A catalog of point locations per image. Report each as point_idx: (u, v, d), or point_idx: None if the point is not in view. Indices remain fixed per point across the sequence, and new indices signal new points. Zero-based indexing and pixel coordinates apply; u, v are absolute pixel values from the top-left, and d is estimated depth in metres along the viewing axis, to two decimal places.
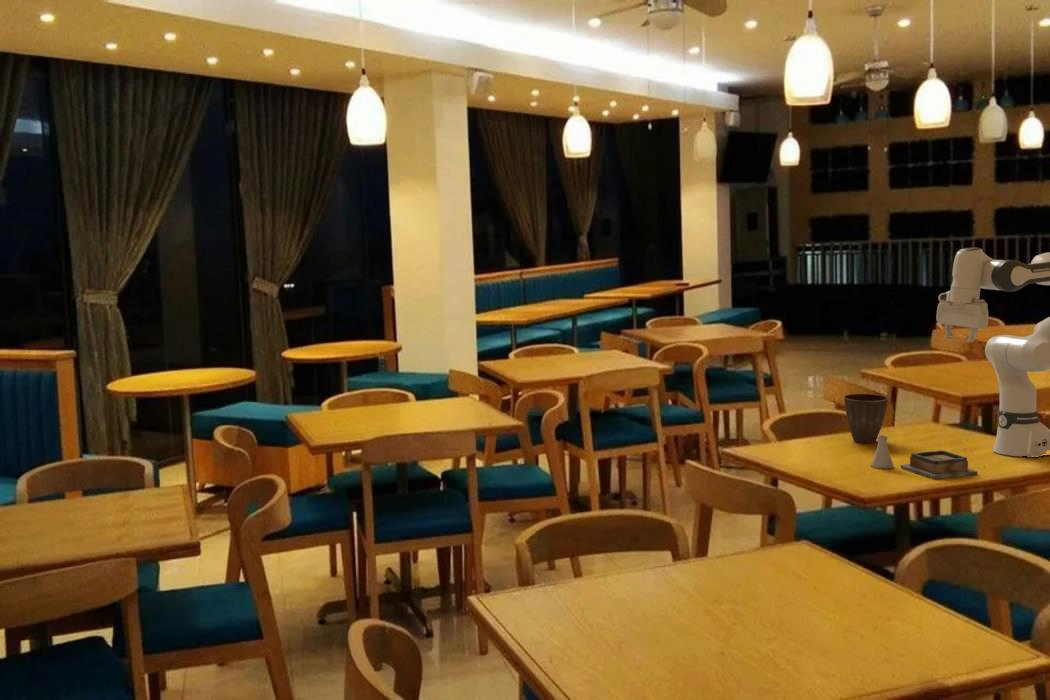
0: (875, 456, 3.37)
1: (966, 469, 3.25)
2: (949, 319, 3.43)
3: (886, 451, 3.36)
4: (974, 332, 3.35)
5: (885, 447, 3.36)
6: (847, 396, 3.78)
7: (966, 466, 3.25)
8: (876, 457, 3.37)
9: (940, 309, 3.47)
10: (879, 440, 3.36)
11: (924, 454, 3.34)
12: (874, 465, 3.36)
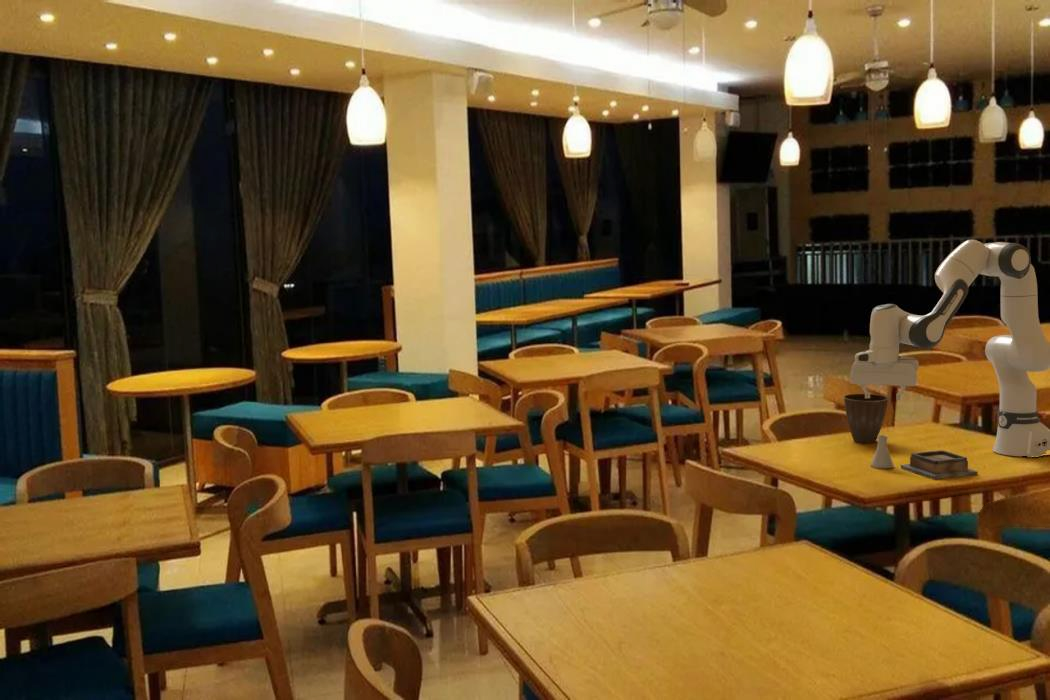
0: (875, 456, 3.37)
1: (966, 469, 3.25)
2: (871, 379, 3.34)
3: (886, 451, 3.36)
4: (904, 389, 3.32)
5: (885, 447, 3.36)
6: (847, 396, 3.78)
7: (966, 466, 3.25)
8: (876, 457, 3.37)
9: (856, 369, 3.35)
10: (879, 440, 3.36)
11: (924, 454, 3.34)
12: (874, 465, 3.36)
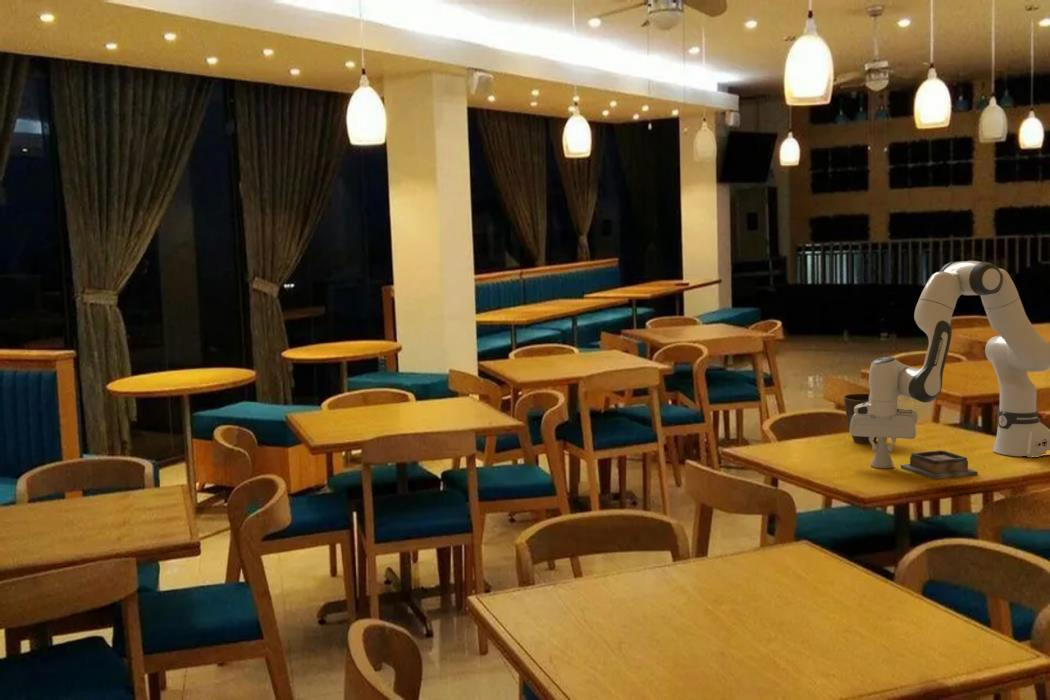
0: (875, 456, 3.37)
1: (966, 469, 3.25)
2: (870, 431, 3.36)
3: (886, 451, 3.36)
4: (895, 441, 3.35)
5: (885, 447, 3.36)
6: (847, 396, 3.78)
7: (966, 466, 3.25)
8: (876, 457, 3.37)
9: (855, 422, 3.37)
10: (879, 440, 3.36)
11: (924, 454, 3.34)
12: (874, 465, 3.36)
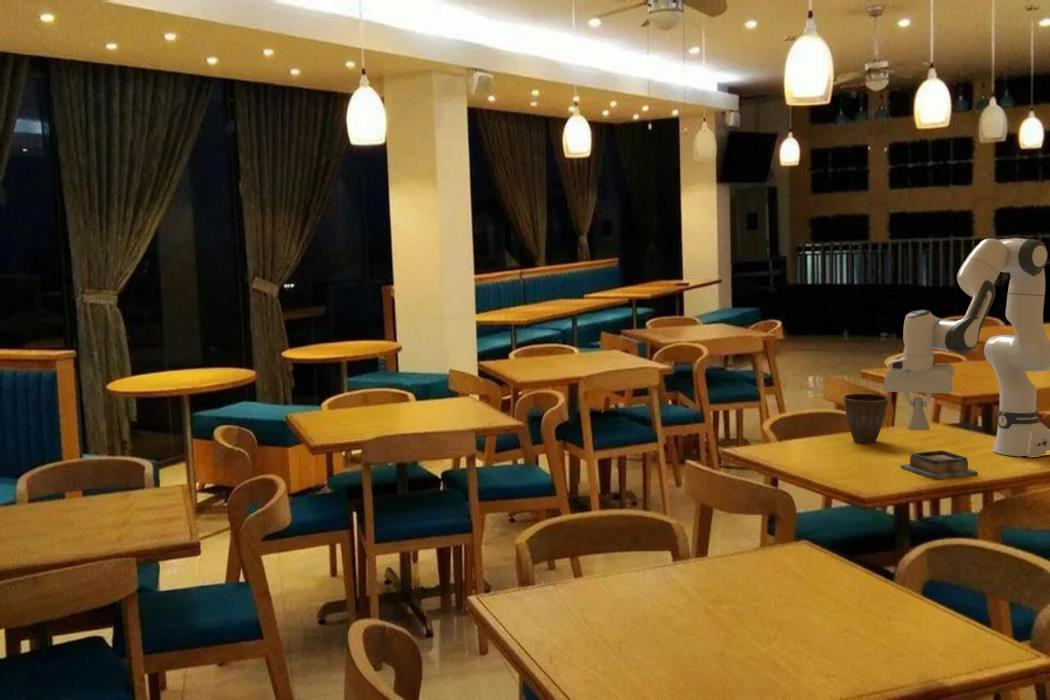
0: (911, 418, 3.31)
1: (966, 469, 3.25)
2: (906, 386, 3.30)
3: (922, 413, 3.30)
4: (930, 396, 3.29)
5: (921, 409, 3.30)
6: (847, 396, 3.78)
7: (966, 466, 3.25)
8: (912, 419, 3.31)
9: (890, 377, 3.31)
10: (915, 402, 3.30)
11: (924, 454, 3.34)
12: (910, 427, 3.30)
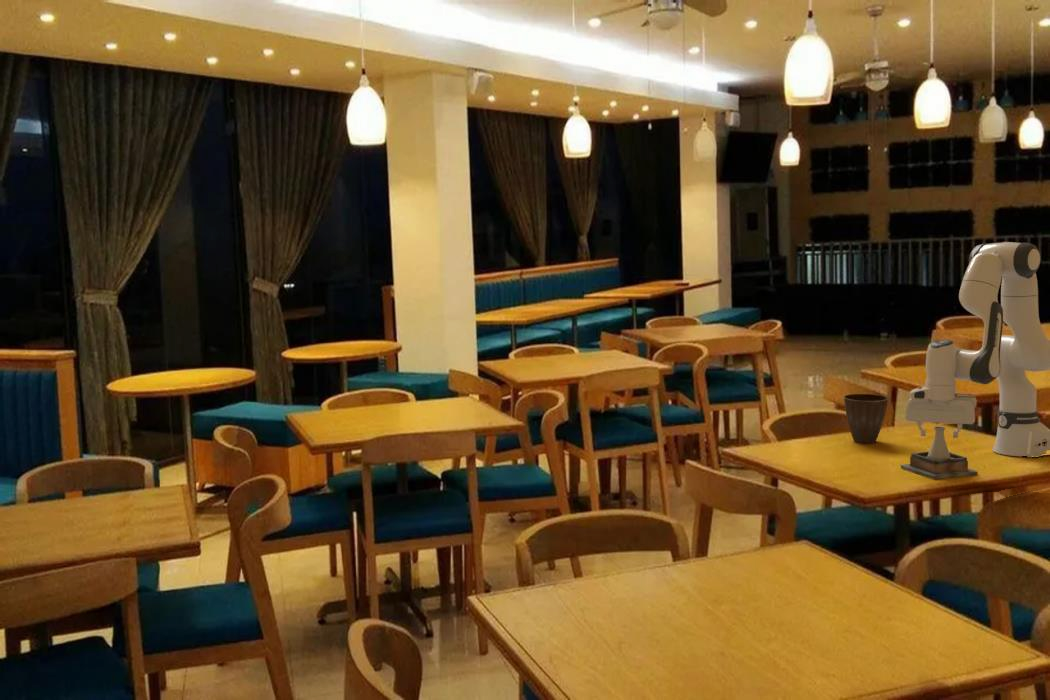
0: (932, 448, 3.29)
1: (966, 469, 3.25)
2: (927, 416, 3.27)
3: (943, 443, 3.27)
4: (961, 427, 3.26)
5: (942, 438, 3.27)
6: (847, 396, 3.78)
7: (966, 466, 3.25)
8: (933, 449, 3.28)
9: (911, 407, 3.29)
10: (936, 431, 3.28)
11: (924, 454, 3.34)
12: (931, 457, 3.28)
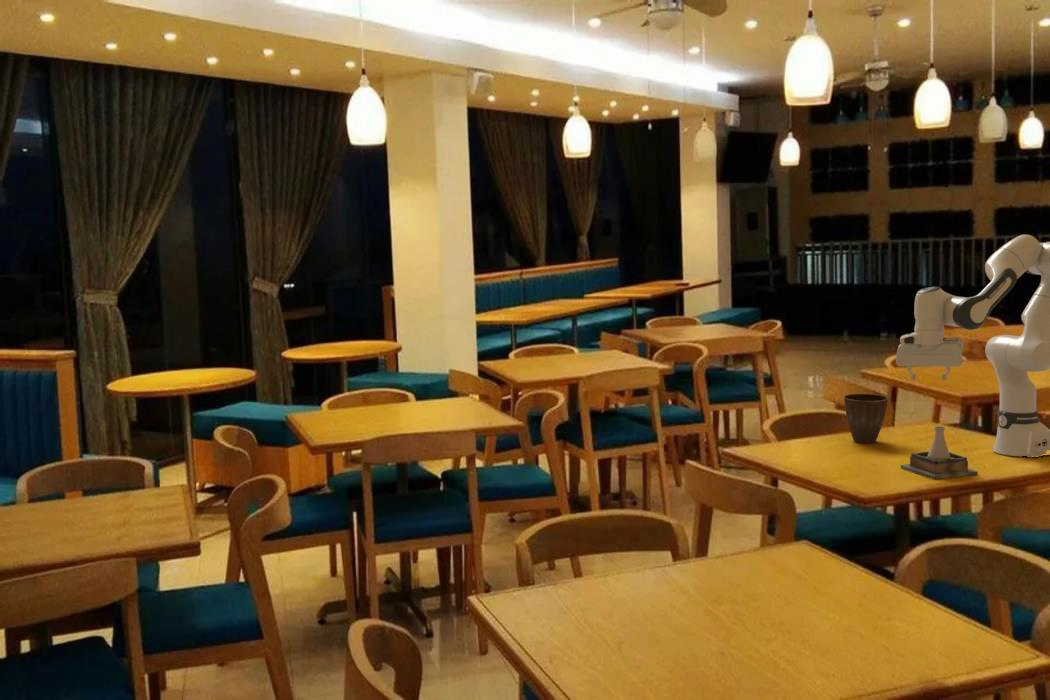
0: (932, 448, 3.29)
1: (966, 469, 3.25)
2: (917, 360, 3.41)
3: (943, 443, 3.27)
4: (949, 370, 3.40)
5: (942, 438, 3.27)
6: (847, 396, 3.78)
7: (966, 466, 3.25)
8: (933, 449, 3.28)
9: (902, 352, 3.42)
10: (936, 431, 3.28)
11: (924, 454, 3.34)
12: (931, 457, 3.28)
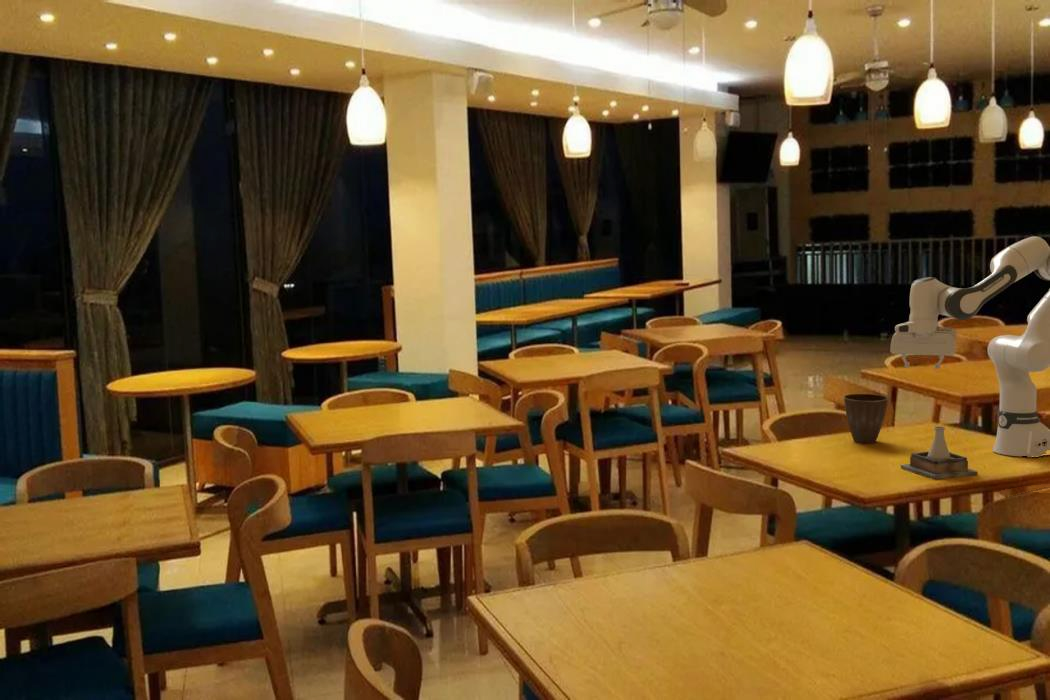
0: (932, 448, 3.29)
1: (966, 469, 3.25)
2: (911, 349, 3.49)
3: (943, 443, 3.27)
4: None
5: (942, 438, 3.27)
6: (847, 396, 3.78)
7: (966, 466, 3.25)
8: (933, 449, 3.28)
9: (896, 340, 3.50)
10: (936, 431, 3.28)
11: (924, 454, 3.34)
12: (931, 457, 3.28)
